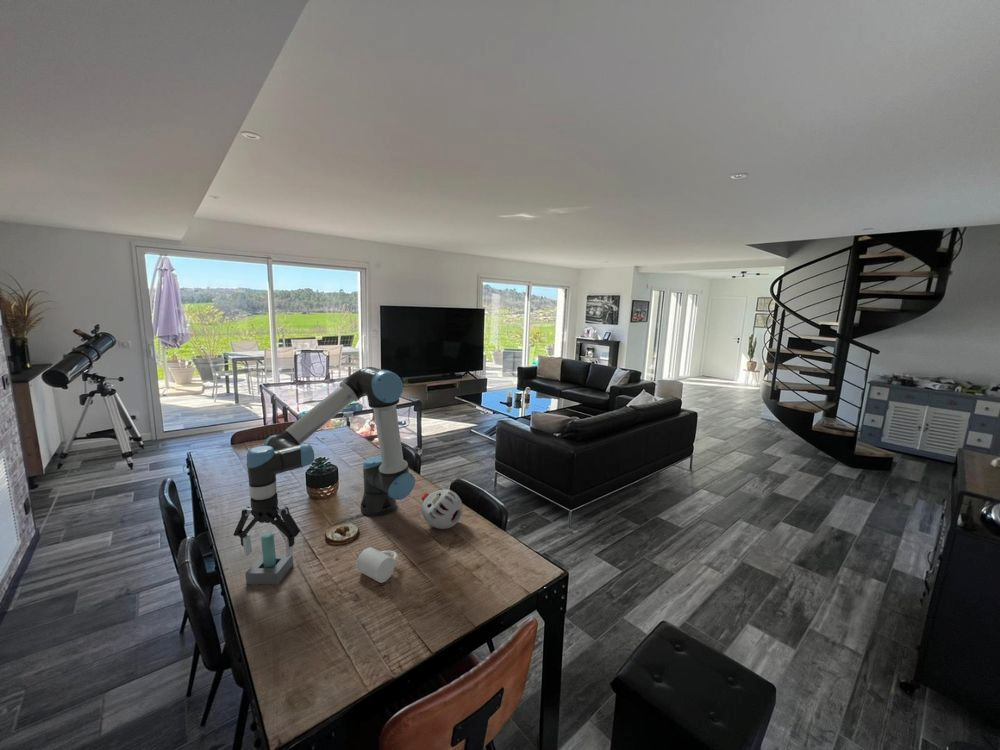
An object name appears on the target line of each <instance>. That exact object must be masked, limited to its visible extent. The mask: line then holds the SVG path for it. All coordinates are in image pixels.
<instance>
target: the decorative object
mask: <svg viewBox="0 0 1000 750" xmlns="http://www.w3.org/2000/svg"><path fill="white" fill-rule="evenodd" d="M421 501H422V505H421V512H422V516H423V519H424V520H425V521H426V522H427V523H428V524H429V526H432V527H434V528H436V529H440V530H448V529H450V528H453V527H454V526H455V525H456V524H457V523H458V522H459V521H460V519H461V517H462V515H463V510H464V508H463V502H462V499H461V498H460V496H459V495H458V494H457V493H456V492H455V491H453V490H451V489H440V490H437V491H434V492H431V493H428V492H426V493H424V494H423V496H421Z"/></svg>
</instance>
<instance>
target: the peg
mask: <svg viewBox="0 0 1000 750" xmlns="http://www.w3.org/2000/svg"><path fill="white" fill-rule="evenodd" d="M274 535H275V534H274V533H273V532H266V533H265V534H262V535H261V536H260V541H261V549H262V550H261V551H262V555H263V564H264V568H274V567H275V566H276V555H275V554H276V547H275V536H274Z"/></svg>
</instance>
